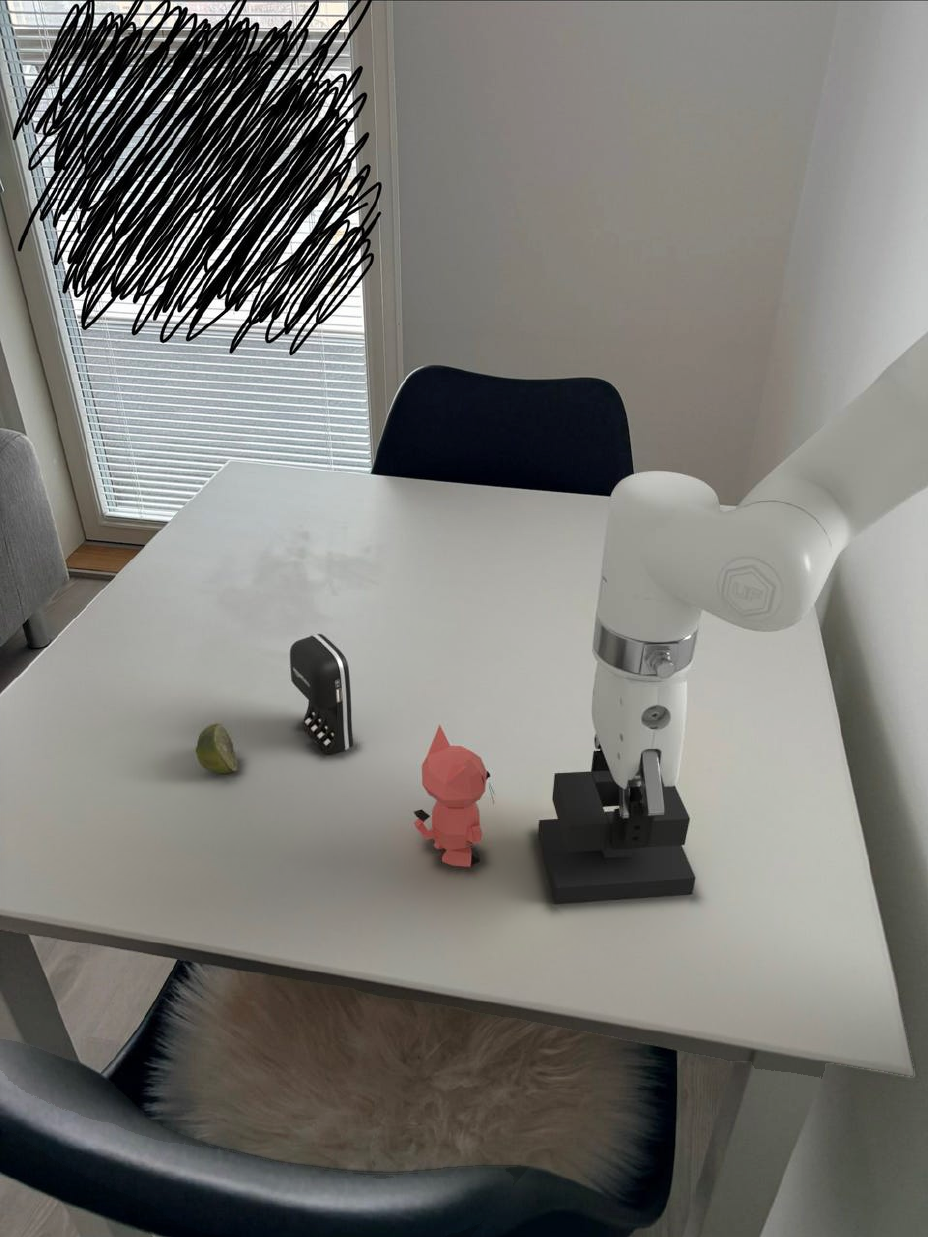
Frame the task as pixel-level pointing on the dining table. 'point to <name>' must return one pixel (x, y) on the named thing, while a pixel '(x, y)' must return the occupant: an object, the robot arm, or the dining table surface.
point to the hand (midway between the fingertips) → (617, 814)
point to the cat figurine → (453, 800)
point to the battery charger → (323, 691)
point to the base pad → (612, 870)
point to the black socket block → (591, 826)
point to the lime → (216, 750)
